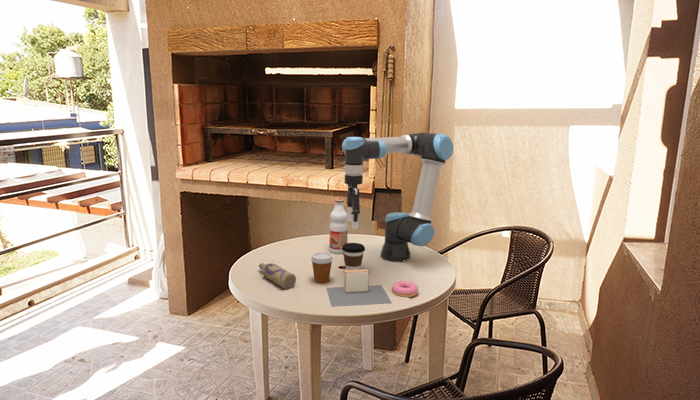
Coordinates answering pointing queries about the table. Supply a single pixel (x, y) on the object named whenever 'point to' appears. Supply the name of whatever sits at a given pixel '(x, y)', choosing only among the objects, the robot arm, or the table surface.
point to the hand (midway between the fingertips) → (352, 225)
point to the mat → (358, 296)
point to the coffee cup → (353, 255)
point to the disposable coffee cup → (321, 267)
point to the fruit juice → (338, 227)
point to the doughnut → (404, 289)
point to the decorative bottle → (278, 275)
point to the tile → (356, 280)
